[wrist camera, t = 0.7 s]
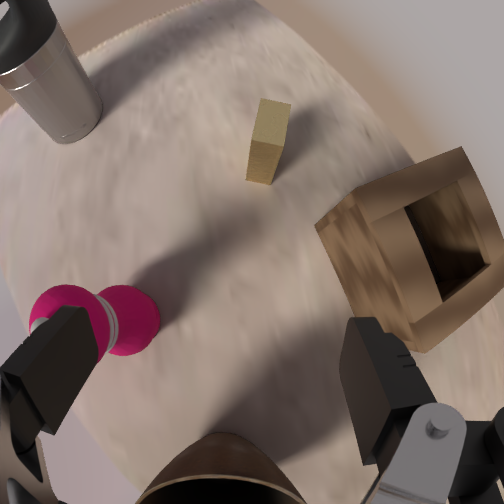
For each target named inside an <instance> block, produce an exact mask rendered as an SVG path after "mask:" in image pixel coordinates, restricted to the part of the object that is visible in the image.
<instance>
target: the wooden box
mask: <svg viewBox="0 0 504 504" xmlns="http://www.w3.org/2000/svg"><path fill="white" fill-rule="evenodd" d="M407 205H409V206H410V209H411V211H412V213H413V215H414V217H415V219H416V221H417V224H418V226H419V228H420V230H421V232H422V235H423V237H424V239H425V242H426V244H427V246H428V249H429V251H430V254H431V256H432V258H433V261H434V263H435V266H436V269H437V271H438V274H439V276H440V279H441V282H440V283H438V284H437V285H436V283H435V280H434V277H433V275H432V272H431V269H430V267H429V264H428V262H427V259H426V257H425V255H424V252H423V250H422V247H421V245H420V243H419V240H418V238H417V236H416V234H415V231H414V229H413V227H412V225H411V223H410V220H409V218H408V216H407V214H406V212H405V210H404V208H403V207H405V206H407ZM314 226H315V228H316V230H317V232H318V235H319V237H320V239H321V241H322V243H323V245H324V247H325V249H326V252H327V254H328V256H329V258H330V260H331V262H332V265H333V267H334V269H335V271H336V274H337V276H338V278H339V280H340V283H341V285H342V287H343V289H344V292H345V294H346V296H347V299H348V301H349V303H350V306H351V308H352V310H353V313H354V315H355V317H376V318H377V320H378V322H379V323H380V325H381V327H382V329H383V331H384V332H385V333H390V332H392V333H393V334H394V335H395V336H397V337H398V338H399V339H400V340H402V341H403V342H404V344H405V345H406V347H407V349H408V350H411V351H416V352H420V353H424V354H425V353H426V352H428V351H429V350H431V349H432V348H433V347H435V346H436V345H437V344H439V343H440V342H441V341H442V340H444V339H445V338H446V337H448V336H449V335H450V334H451V333H453V332H454V331H455V330H456V329H458V328H459V327H460V326H461V325H462V324H464V323H465V322H466V321H467V320H468V319H469V318H471V317H472V316H473V315H474V314H475V313H476V312H478V311H479V310H480V309H481V308H482V307H483V306H484V305H485V304H486V303H488V302H489V301H490V300H491V299H492V298H493V297H494V296H495V295H496V294H497V293H498V292H499V291H500V290H501V289H502V288H503V287H504V239H503V236H502V234H501V231H500V228H499V226H498V223H497V220H496V218H495V215H494V213H493V211H492V208H491V206H490V203H489V201H488V199H487V196H486V194H485V192H484V190H483V188H482V186H481V183H480V181H479V179H478V177H477V175H476V173H475V171H474V169H473V167H472V165H471V163H470V161H469V159H468V157H467V156H466V154H465V152H464V150H463V148H462V146H461V147H459V148H456V149H453V150H451V151H448V152H445V153H443V154H440V155H438V156H435V157H433V158H430V159H427V160H425V161H423V162H420V163H417V164H415V165H412V166H410V167H407V168H405V169H402V170H400V171H397V172H394V173H392V174H389V175H387V176H384V177H382V178H380V179H377V180H375V181H372V182H370V183H367V184H365V185H362V186H360V187H357V188H355V189H354V190H353V191H352V192H351V193H350V194H349V195H347V196H346V197H345V198H344V199H343V200H342V201H341V202H340V203H339V204H338V205H336V206H335V207H334V208H333V209H332V210H331V211H330V212H329V213H328V214H327V215H325V216H324V217H323V218H322V219H321V220H320V221H319V222H318V223H317V224H316V225H314Z"/></svg>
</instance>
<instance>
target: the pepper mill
mask: <svg viewBox="0 0 504 504" xmlns="http://www.w3.org/2000/svg"><path fill="white" fill-rule="evenodd" d="M63 305H71V306H80V307H84V308H86V310H87V311H88V314H89V317H90V321H91V324H92V328H93V331H94V335H95V338H96V341H97V345H98V349H99V356H98V361H97V363H98V362H99V361H100V360H101V359H102V357H103V356H104V355H105V354H106V353H108V352H109V353H111V354H114V355H119V356H128V355H132V354H135V353H138V352H140V351H142V350H143V349H145V348H146V347H147V346H148V345H149V343H150V342H151V341H152V339H153V338H154V336H155V335H156V334H157V332H158V329H159V326H160V314H159V310H158V308H157V306H156V304H155V302H154V301H153V300H152V299H151V298H150V297H149V296H147V295H146V294H144V293H142V292H141V291H140V290H138V289H136V288H134V287H131V286H127V285H116V286H111V287H108V288H106V289H104V290H103V291H101V292H100V293H99V294H97V295H95V294H92V293H90V292H89V291H87V290H86V289H84V288H82V287H79V286H75V285H59V286H54V287H52V288H50V289H48V290H47V291H45V292H44V293H43V294H41V296H40V297H39V298H38V299H37V301H36V302H35V304H34V306H33V308H32V311H31V314H30V320H29V331H30V334H31V333H32V332H33V331H34V330H35V329H36V328H37V327H38V326H39V325H40V324H42V323H43V322H45V321H47V320H48V319H49V318H50V317H51V316H52V315H53V314H54V313H55V312H56V311H57V310H58V309H59V308H60V307H61V306H63Z"/></svg>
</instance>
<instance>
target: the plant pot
mask: <svg viewBox="0 0 504 504" xmlns="http://www.w3.org/2000/svg"><path fill="white" fill-rule="evenodd" d="M135 504H307V503H306V502H305V500H304V499H303V498H302V496H301V495H300V493H299V492H298V491H297V489H296V488H295V487H294V485H293V484H292V483H291V482H290V480H289V479H288V478H287V477H286V476H285V474H284V473H283V472H282V471H281V470H280V469H279V468H278V467H277V466H276V464H275V463H274V462H273V461H272V460H271V459H270V458H269V457H268V456H266V455H265V454H264V453H263V452H262V451H261V450H260V449H258V448H257V447H256V446H254V445H253V444H252V443H250V442H249V441H247V440H246V439H244V438H242V437H240V436H238V435H235V434H232V433H223V432H221V433H214V434H210V435H208V436H206V437H204V438H202V439H200V440H198V441H196V442H195V443H193V444H192V445H190V446H189V447H187V448H186V449H185V450H184V451H182V452H181V453H180V454H179V455H177V456H176V457H175V458H174V459H173V460H172V461H171V462H170V463H169V464H168V465H167V466H166V467H165V468H164V469H163V470H162V471H161V472H160V473H159V474H158V475H157V476H156V478H155V479H154V480H153V481H152V482H151V484H150V485H149V486H148V487H147V489H146V490H145V491H144V493H143V494H142V495H141V496H140V498H139V499H138V500H137V502H136V503H135Z"/></svg>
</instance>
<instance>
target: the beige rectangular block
mask: <svg viewBox="0 0 504 504" xmlns="http://www.w3.org/2000/svg"><path fill="white" fill-rule="evenodd" d="M290 108H291V105H290V104H286V103H281V102H277V101H272V100H267V99H262V98H261V100H260V104H259V109H258V113H257V117H256V122H255V126H254V130H253V135H252V139H251V146H250V153H249V160H248V167H247V174H246V180H247V181H253V182H257V183H262V184H267V185H270V184H271V182H272V179H273V176H274V173H275V170H276V167H277V165H278V162H279V159H280V156H281V153H282V151H283V148H284V143H285V137H286V132H287V126H288V120H289V114H290Z"/></svg>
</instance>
